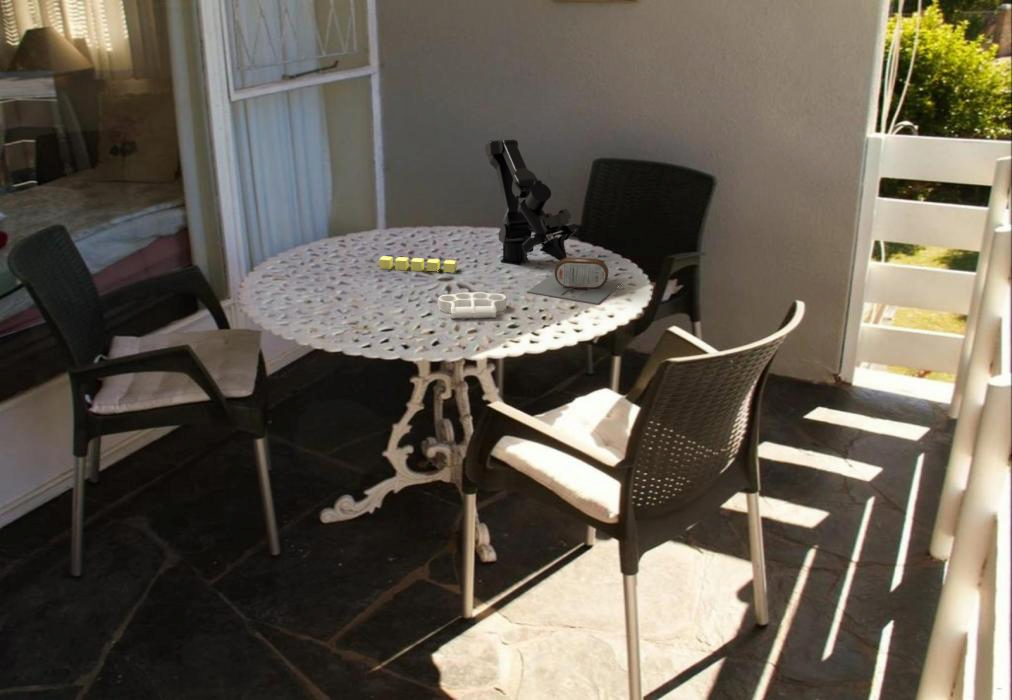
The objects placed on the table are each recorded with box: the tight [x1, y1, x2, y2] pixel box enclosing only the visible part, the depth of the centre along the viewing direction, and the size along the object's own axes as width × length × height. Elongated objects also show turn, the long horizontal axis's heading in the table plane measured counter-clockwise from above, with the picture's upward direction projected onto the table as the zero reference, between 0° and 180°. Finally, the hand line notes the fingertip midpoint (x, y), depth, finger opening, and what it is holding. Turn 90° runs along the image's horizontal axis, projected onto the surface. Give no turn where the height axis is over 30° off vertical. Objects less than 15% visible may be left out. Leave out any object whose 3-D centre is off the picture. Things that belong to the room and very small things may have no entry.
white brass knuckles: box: [437, 291, 507, 320], centre depth 266 cm, size 3×18×15 cm
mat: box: [526, 272, 623, 306], centre depth 283 cm, size 21×19×1 cm
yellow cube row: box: [378, 255, 458, 273], centre depth 300 cm, size 32×32×3 cm
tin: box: [554, 256, 609, 290], centre depth 281 cm, size 15×3×8 cm, turn 84°
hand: (566, 262), depth 284 cm, fingers closed
